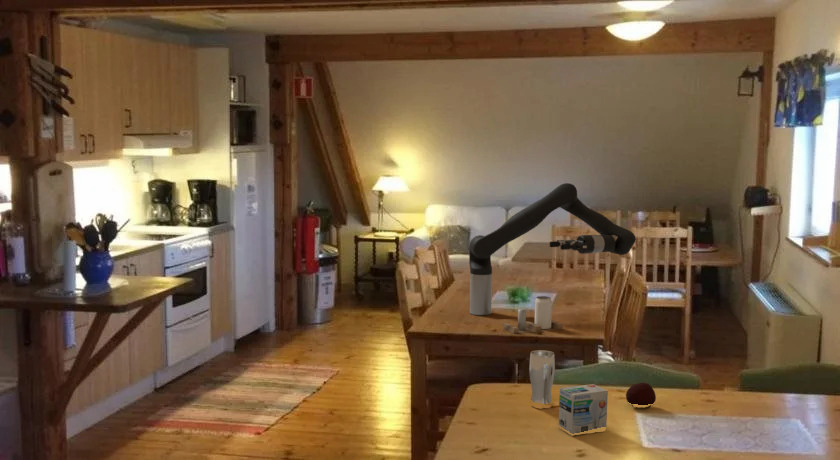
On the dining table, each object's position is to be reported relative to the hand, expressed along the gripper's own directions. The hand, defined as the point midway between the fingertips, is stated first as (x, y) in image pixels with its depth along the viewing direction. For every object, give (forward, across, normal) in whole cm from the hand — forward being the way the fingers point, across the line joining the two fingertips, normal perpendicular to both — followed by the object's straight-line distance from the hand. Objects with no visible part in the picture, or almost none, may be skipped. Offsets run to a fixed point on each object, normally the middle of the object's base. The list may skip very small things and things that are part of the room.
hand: (555, 245), depth 335 cm
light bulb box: (+57, +111, +32) cm, 129 cm away
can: (+9, +8, +31) cm, 33 cm away
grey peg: (+19, +8, +31) cm, 37 cm away
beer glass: (+57, +90, +32) cm, 111 cm away
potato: (+32, +101, +32) cm, 111 cm away
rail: (+14, +8, +32) cm, 36 cm away
